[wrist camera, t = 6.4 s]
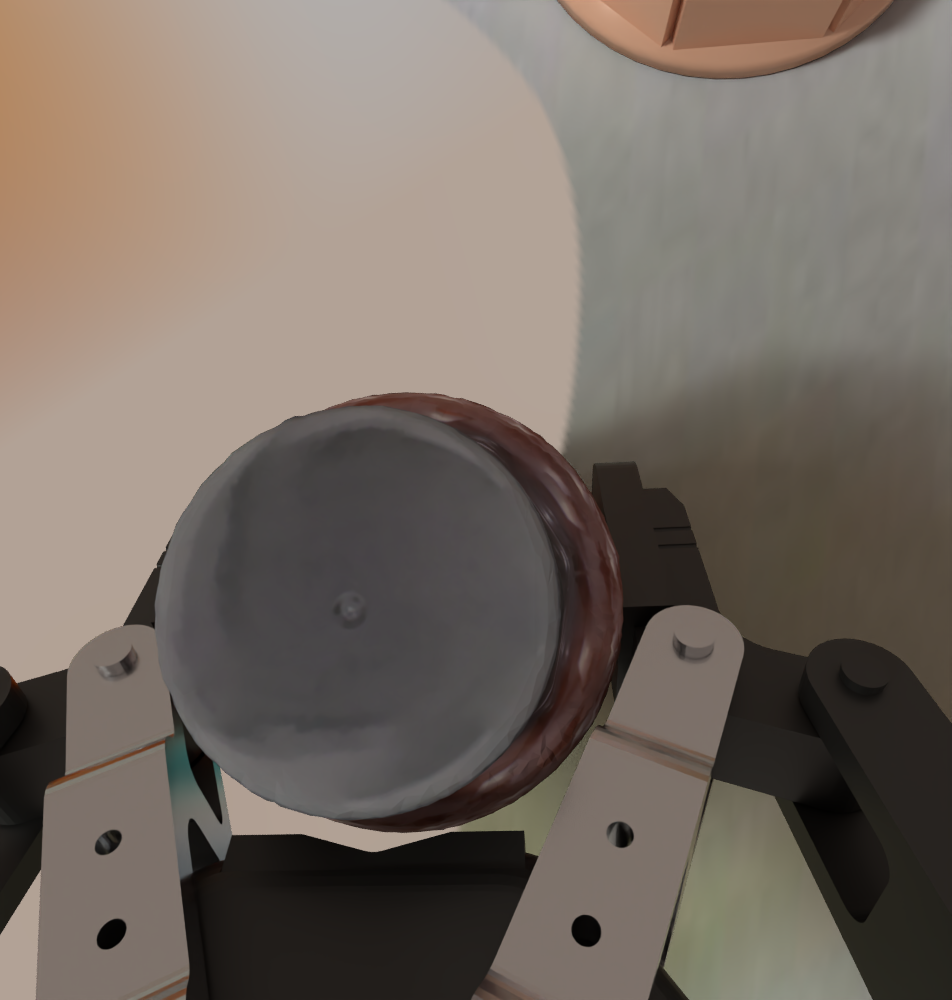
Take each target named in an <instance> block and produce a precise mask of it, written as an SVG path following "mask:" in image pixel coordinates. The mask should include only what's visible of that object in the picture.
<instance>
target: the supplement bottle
mask: <svg viewBox="0 0 952 1000" xmlns="http://www.w3.org/2000/svg"><path fill="white" fill-rule="evenodd" d="M622 625H623V589H622V579H621V572H620V564H619V555H618V552H617V550H616V547H615V545H614V542H613V539H612V537H611V534H610V531H609V529H608V526H607V524H606V521H605V518H604V515H603V514H602V512H601V510H600V509H599V507H598V505H597V503H596V502H595V499H594V497H593V495H592V493H591V492H590V491H589V490H588V488H587V487H586V485H585V484H584V482H583V481H582V479H581V478H580V477H579V475H578V474H577V472H576V470H575V469H574V468H573V467H572V466H571V465H570V464H569V463H568V462H567V461H566V460H565V458H564V457H563V456H562V455H561V454H560V453H559V452H558V451H557V450H556V449H555V448H554V447H553V446H552V445H550V444H549V443H547V442H546V441H545V440H544V438H542V437H541V436H540V435H538V434H537V433H535V432H533V431H532V430H531V429H529V428H528V427H526V426H525V425H523V424H521V423H520V422H518V421H516V420H514V419H513V418H511V417H509V416H506V415H503V414H501V413H498V412H496V411H494V410H492V409H491V408H489V407H486V406H484V405H481V404H478V403H475V402H472V401H469V400H466V399H463V398H452V397H449V396H446V395H442V394H426V393H425V394H424V393H389V394H383V395H371V396H367V397H363V398H358V399H352V400H349V401H347V402H344V403H342V404H338V405H335V406H332V407H329V408H327V409H325V410H322V411H318V412H314V413H311V414H308V415H305V416H295V417H292V418H290V419H287V420H285V421H284V422H283V423H281V424H280V425H278V426H277V427H275V428H273V429H270V430H268V431H266V432H264V433H261V434H259V435H258V436H256V437H255V438H253V439H252V440H250V441H249V442H247V443H246V444H244V445H243V446H241V447H240V448H238V449H237V450H236V451H234V452H233V453H232V454H231V455H230V456H229V457H228V458H227V459H226V461H225V462H224V463H223V464H221V465H220V466H219V467H218V468H217V469H216V470H215V471H214V472H213V473H212V474H211V475H210V476H209V477H208V478H207V480H205V481H204V483H203V484H202V485H201V486H200V488H199V489H198V491H197V492H196V494H195V496H194V497H193V499H192V501H191V502H190V504H189V505H188V507H187V508H186V510H185V511H184V512H183V514H182V515H181V517H180V519H179V521H178V522H177V524H176V526H175V529H174V532H173V535H172V538H171V541H170V544H169V547H168V550H167V553H166V555H165V558H164V561H163V563H162V566H161V570H160V577H159V584H158V587H157V593H156V600H155V635H156V641H157V646H158V657H159V665H160V669H161V673H162V677H163V681H164V683H165V684H166V686H167V688H168V690H169V692H170V694H171V696H172V698H173V702H174V705H175V708H176V710H177V712H178V714H179V715H180V717H181V719H182V721H183V723H184V725H185V726H186V728H187V730H188V731H189V733H190V735H191V736H192V738H193V739H194V741H195V742H196V744H197V745H198V746H199V747H200V748H201V749H202V751H203V752H204V753H205V754H206V755H207V756H208V757H209V758H210V759H211V760H213V761H214V762H215V763H216V764H217V765H218V766H219V767H220V768H222V770H223V771H224V772H225V773H227V774H228V775H229V776H231V777H232V778H233V779H235V780H236V781H237V782H239V783H240V784H242V785H243V786H244V787H245V788H247V789H248V790H249V791H251V792H252V793H254V794H256V795H258V796H260V797H261V798H263V799H265V800H267V801H271V802H275V803H276V804H278V805H279V806H281V807H284V808H288V809H291V810H294V811H297V812H301V813H304V814H307V815H310V816H319V817H324V818H327V819H329V820H332V821H335V822H339V823H343V824H346V825H350V826H354V827H358V828H362V829H368V830H375V831H381V832H400V833H407V832H422V831H431V830H444V829H446V828H450V827H455V826H460V825H463V824H465V823H468V822H471V821H473V820H476V819H479V818H482V817H484V816H487V815H489V814H492V813H494V812H496V811H497V810H499V809H501V808H503V807H505V806H507V805H509V804H512V803H514V802H515V801H516V800H518V799H519V798H520V797H522V796H524V795H526V794H527V793H528V792H529V791H531V790H532V789H533V788H534V787H535V786H537V785H538V784H539V783H540V782H542V781H543V780H544V779H546V778H547V777H548V776H549V775H550V774H552V773H553V772H554V771H555V770H556V769H557V768H558V767H559V766H560V764H561V763H562V762H563V761H564V760H565V759H566V758H567V756H568V755H569V754H570V753H571V752H572V751H573V749H574V748H575V747H576V746H577V745H578V743H579V742H580V741H581V739H582V738H583V737H584V735H585V734H586V732H587V731H588V729H589V728H590V727H591V726H592V724H593V722H594V720H595V718H596V716H597V714H598V712H599V710H600V708H601V706H602V703H603V701H604V698H605V697H606V694H607V691H608V688H609V684H610V682H611V680H612V675H613V673H614V670H615V665H616V662H617V659H618V656H619V653H620V646H621V638H622Z"/></svg>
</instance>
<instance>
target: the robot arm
mask: <svg viewBox="0 0 952 1000" xmlns="http://www.w3.org/2000/svg"><path fill="white" fill-rule="evenodd" d="M592 495H593V497H594V499H595V502H596V503H597V505H598V507H599V509H600V510H601V512H602V514H603V515H604V518H605V521H606V524H607V526H608V529H609V531H610V534H611V537H612V539H613V542H614V545H615V547H616V550H617V552H618V555H619V564H620V572H621V579H622V589H623V625H622V638H621V646H620V653H619V656H618V659H617V662H616V665H615V670H614V673H613V675H612V680H611V683H612V690H613V696H614V702H615V703H614V705H613V707H612V710H611V712H610V715H609V717H608V719H607V721H606V723H605V725H604V726H601V725H598V726H597V727H596V728H595V729H594V731H593V733H592V734H591V736H590V738H589V741H588V743H587V745H586V747H585V750H584V752H583V754H582V757H581V759H580V761H579V764H578V766H577V768H576V771H575V773H574V775H573V778H572V780H571V782H570V785H569V787H568V789H567V792H566V794H565V796H564V799H563V801H562V803H561V806H560V808H559V810H558V813H557V815H556V817H555V820H554V822H553V824H552V827H551V829H550V831H549V834H548V836H547V838H546V841H545V843H544V845H543V848H542V850H541V852H540V855H539V856H536V855H533V854H529V853H526V852H525V837H524V831H476V832H449V833H445V834H441V835H438V836H434V837H431V838H427V839H423V840H420V841H417V842H412V843H409V844H405V845H402V846H398V847H394V848H391V849H387V850H384V851H379V852H367V851H363V850H359V849H355V848H352V847H348V846H344V845H340V844H337V843H333V842H329V841H326V840H321V839H318V838H314V837H311V836H307V835H302V834H286V835H232V831H231V825H230V820H229V814H228V809H227V804H226V798H225V792H224V787H223V781H222V776H221V771H220V767H219V766H218V765H217V764H216V763H215V762H214V761H213V760H211V759H210V758H209V757H208V756H207V755H206V754H205V753H204V752H203V751H202V749H201V748H200V747H199V746H198V745H197V744H196V742H195V741H194V739H193V738H192V736H191V735H190V733H189V731H188V730H187V728H186V726H185V725H184V723H183V721H182V719H181V717H180V715H179V714H178V712H177V710H176V708H175V705H174V702H173V698H172V696H171V694H170V692H169V690H168V688H167V686H166V684H165V683H164V681H163V677H162V673H161V669H160V665H159V657H158V646H157V641H156V635H155V600H156V593H157V587H158V584H159V577H160V570H161V566H162V563H163V561H164V558H165V555H166V553H167V550H168V547H169V544H170V541H171V539H170V541H169V542H168V544H167V546H166V551H164V552H163V553H162V555H161V557H160V559H159V561H158V563H157V568H155V569H154V570H153V572H152V574H151V575H150V577H149V579H148V581H147V583H146V585H145V586H144V588H143V590H142V592H141V594H140V596H139V597H138V599H137V601H136V603H135V605H134V607H133V608H132V610H131V612H130V614H129V616H128V618H127V620H126V621H125V623H124V625H123V626H121V627H118V628H114V629H112V630H109V631H107V632H105V633H103V634H101V635H99V636H97V637H95V638H94V639H92V640H91V641H90V642H88V643H87V644H86V645H85V646H84V647H83V648H82V649H81V650H80V651H79V652H78V653H77V654H76V655H75V657H74V658H73V660H72V662H71V663H70V666H69V668H68V669H65V670H62V671H59V672H55V673H52V674H48V675H45V676H41V677H38V678H34V679H31V680H27V681H24V682H20V683H16V682H15V680H14V679H13V678H12V676H11V675H10V674H9V672H8V671H7V670H6V669H4V668H3V667H0V934H1V933H2V931H3V929H4V928H5V926H6V924H7V923H8V921H9V920H10V918H11V916H12V915H13V913H14V912H15V910H16V908H17V907H18V905H19V904H20V902H21V900H22V899H23V897H24V896H25V894H26V893H27V891H28V889H29V888H30V886H31V885H32V883H33V881H34V880H35V878H36V876H37V875H38V873H39V872H40V870H41V886H40V911H39V935H38V960H37V984H36V985H37V986H36V1000H689V999H688V998H687V997H686V996H685V994H684V993H683V992H682V991H681V989H680V988H679V987H678V986H677V984H676V983H675V982H674V981H673V980H672V978H671V977H670V976H669V975H668V973H667V972H666V971H665V970H664V967H665V963H666V959H667V955H668V952H669V948H670V944H671V940H672V937H673V933H674V929H675V925H676V922H677V918H678V914H679V910H680V906H681V902H682V898H683V894H684V890H685V886H686V882H687V878H688V874H689V870H690V867H691V863H692V859H693V855H694V852H695V848H696V844H697V840H698V837H699V833H700V829H701V825H702V822H703V818H704V814H705V811H706V807H707V803H708V799H709V796H710V792H711V788H712V784H713V781H714V779H716V780H720V781H723V782H727V783H730V784H734V785H737V786H741V787H744V788H748V789H751V790H755V791H758V792H762V793H765V794H769V795H772V796H775V798H776V800H777V802H778V804H779V806H780V808H781V811H782V813H783V815H784V817H785V819H786V821H787V823H788V825H789V827H790V829H791V831H792V833H793V835H794V838H795V840H796V842H797V844H798V846H799V848H800V850H801V852H802V854H803V856H804V858H805V860H806V862H807V864H808V867H809V869H810V871H811V873H812V875H813V877H814V879H815V881H816V883H817V885H818V887H819V889H820V891H821V893H822V896H823V898H824V900H825V902H826V904H827V906H828V908H829V910H830V912H831V914H832V916H833V918H834V920H835V922H836V925H837V927H838V929H839V931H840V933H841V935H842V937H843V939H844V941H845V943H846V945H847V947H848V949H849V951H850V954H851V956H852V958H853V960H854V962H855V964H856V966H857V968H858V970H859V972H860V974H861V976H862V978H863V980H864V983H865V985H866V987H867V989H868V991H869V993H870V995H871V997H872V999H873V1000H952V724H951V722H950V721H949V720H948V718H947V717H946V716H945V714H944V713H943V712H942V710H941V709H940V708H939V706H938V705H937V704H936V703H935V701H934V700H933V699H932V697H931V696H930V695H929V693H928V692H927V691H926V689H925V688H924V687H923V685H922V684H921V683H920V681H919V680H918V679H917V677H916V676H915V675H914V673H913V672H912V671H911V670H910V669H909V667H908V666H907V665H906V664H905V663H904V662H903V661H901V660H900V659H899V658H898V657H897V656H895V655H894V654H892V653H891V652H889V651H887V650H885V649H883V648H882V647H879V646H877V645H874V644H872V643H868V642H865V641H861V640H855V639H834V640H830V641H826V642H824V643H822V644H820V645H818V646H817V647H815V648H814V649H813V650H812V652H811V653H810V655H809V656H808V657H804V656H800V655H795V654H791V653H786V652H782V651H777V650H773V649H769V648H765V647H762V646H760V645H757V644H755V643H752V642H751V641H749V640H747V639H745V638H743V637H742V636H741V634H740V633H739V631H738V629H737V628H736V627H735V626H734V625H733V623H731V622H730V621H729V620H728V619H727V618H725V617H724V616H722V615H721V614H720V612H719V610H718V607H717V604H716V601H715V598H714V595H713V592H712V589H711V586H710V583H709V580H708V577H707V574H706V571H705V568H704V565H703V562H702V559H701V556H700V553H699V550H698V548H697V547H696V541H695V538H694V535H693V532H692V530H691V525H690V522H689V519H688V516H687V513H686V510H685V507H684V505H683V504H682V503H681V502H680V501H679V500H678V499H677V498H676V497H675V496H674V495H673V494H672V493H671V492H670V491H669V490H668V489H667V488H654V489H643V488H642V484H641V480H640V476H639V473H638V469H637V465H636V463H635V462H616V463H595V464H594V465H593V478H592ZM171 538H172V537H171Z"/></svg>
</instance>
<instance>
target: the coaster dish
mask: <svg viewBox="0 0 952 1000" xmlns="http://www.w3.org/2000/svg"><path fill="white" fill-rule="evenodd" d="M557 1H558V2H559V3H560V4H561V6H562V7H563V8H564V9H565V10H566V12H567V13H568V14H569V15H570V16H571V17H572V19H573V20H575V21H576V22H577V23H578V24H579V25H580V26H581V27H582V28H584V29H585V30H586V31H587V32H588V33H589V34H590V35H591V36H593V37H594V38H596V39H597V40H599V41H600V42H602V43H603V44H605V45H606V46H608V47H609V48H611V49H612V50H614V51H616V52H618V53H620V54H622V55H624V56H626V57H628V58H630V59H632V60H634V61H636V62H639V63H642V64H645V65H648V66H650V67H653V68H656V69H659V70H662V71H667V72H671V73H676V74H681V75H685V76H693V77H703V78H713V79H718V78H745V77H753V76H760V75H767V74H772V73H776V72H779V71H783V70H787V69H791V68H795V67H798V66H800V65H803V64H805V63H808V62H810V61H813V60H815V59H818V58H820V57H822V56H824V55H826V54H828V53H830V52H832V51H833V50H835V49H837V48H839V47H841V46H843V45H844V44H846V43H847V42H849V41H850V40H852V39H853V38H854V37H856V36H857V35H859V34H860V33H861V32H863V31H864V30H865V29H867V28H868V27H869V26H870V25H871V24H872V23H873V22H874V21H875V20H876V19H878V18H879V17H880V16H881V15H882V14H883V13H884V12H885V11H886V10H887V9H888V7H889V6H890V5H891V4H892V3H893V1H894V0H557Z"/></svg>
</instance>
